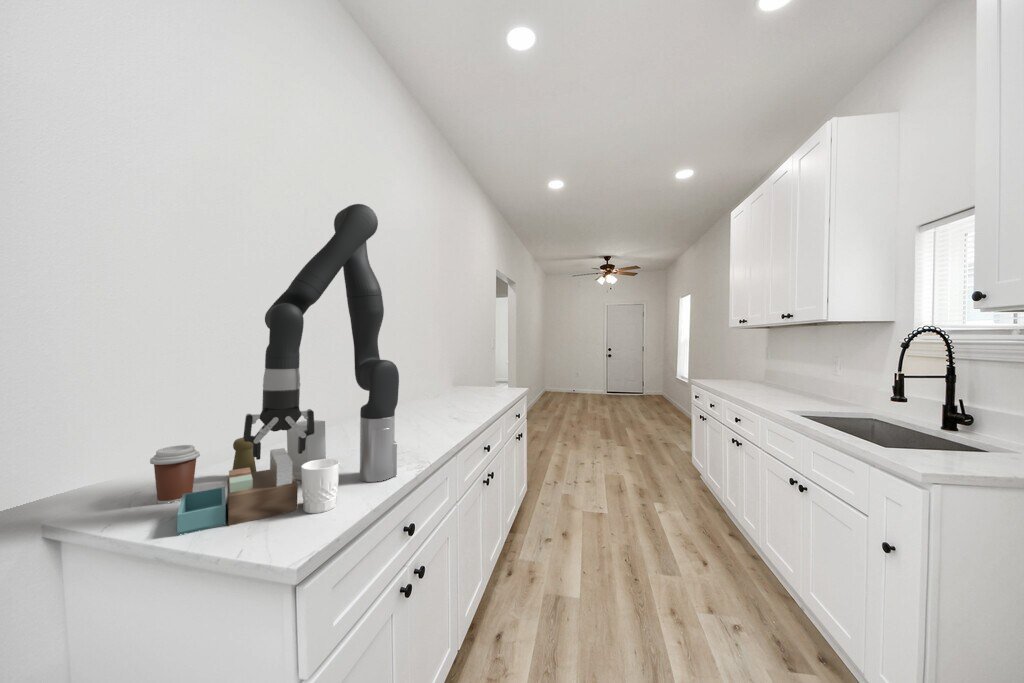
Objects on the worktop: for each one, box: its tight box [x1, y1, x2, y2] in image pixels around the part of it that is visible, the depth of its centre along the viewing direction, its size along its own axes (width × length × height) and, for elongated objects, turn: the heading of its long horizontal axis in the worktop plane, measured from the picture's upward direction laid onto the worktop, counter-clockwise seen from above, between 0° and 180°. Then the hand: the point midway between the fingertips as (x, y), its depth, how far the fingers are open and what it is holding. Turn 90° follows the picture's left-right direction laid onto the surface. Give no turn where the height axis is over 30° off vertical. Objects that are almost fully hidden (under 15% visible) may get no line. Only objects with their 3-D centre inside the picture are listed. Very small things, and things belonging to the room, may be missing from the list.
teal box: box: [176, 486, 227, 536], centre depth 82 cm, size 8×13×4 cm, turn 38°
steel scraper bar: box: [269, 447, 292, 487], centre depth 90 cm, size 3×14×5 cm, turn 38°
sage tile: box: [229, 474, 253, 493], centre depth 83 cm, size 4×4×2 cm
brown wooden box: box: [226, 468, 299, 527], centre depth 88 cm, size 12×15×6 cm
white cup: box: [301, 458, 340, 514], centre depth 88 cm, size 8×8×10 cm
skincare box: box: [286, 418, 327, 481], centre depth 108 cm, size 8×7×16 cm
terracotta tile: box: [228, 467, 251, 478], centre depth 88 cm, size 4×4×2 cm
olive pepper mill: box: [232, 437, 257, 472], centre depth 107 cm, size 6×6×11 cm
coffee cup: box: [149, 444, 201, 504], centre depth 92 cm, size 9×9×12 cm
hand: (279, 455), depth 90 cm, fingers open, 8 cm apart
